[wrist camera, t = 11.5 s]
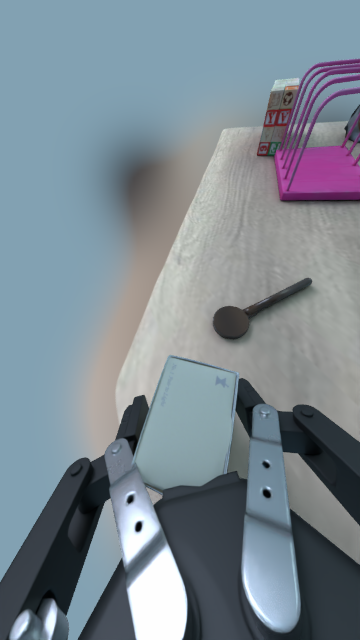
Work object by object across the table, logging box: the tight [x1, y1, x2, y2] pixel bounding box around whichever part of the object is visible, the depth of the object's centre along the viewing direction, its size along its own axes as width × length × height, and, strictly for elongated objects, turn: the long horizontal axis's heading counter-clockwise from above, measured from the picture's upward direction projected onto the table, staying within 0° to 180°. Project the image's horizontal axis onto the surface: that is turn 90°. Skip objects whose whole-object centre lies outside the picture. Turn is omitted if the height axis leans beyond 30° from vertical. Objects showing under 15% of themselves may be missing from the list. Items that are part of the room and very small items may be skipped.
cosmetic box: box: [131, 355, 239, 495], centre depth 14 cm, size 6×4×12 cm
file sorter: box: [274, 59, 360, 200], centre depth 37 cm, size 17×25×16 cm
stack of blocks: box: [257, 78, 299, 155], centre depth 51 cm, size 21×6×12 cm, turn 160°
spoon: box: [213, 278, 312, 339], centre depth 25 cm, size 17×5×1 cm, turn 117°
